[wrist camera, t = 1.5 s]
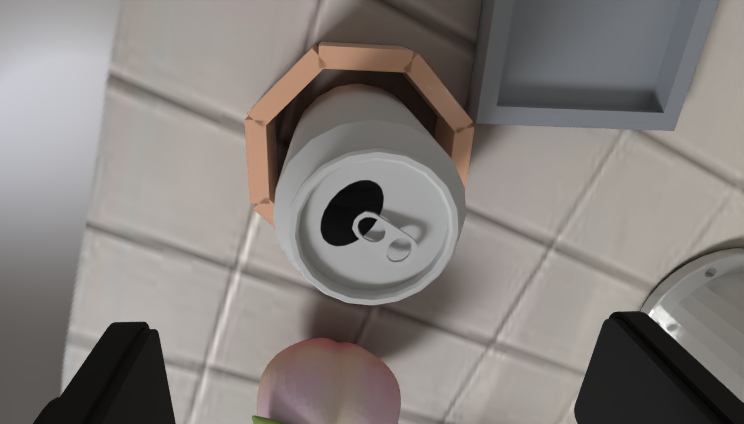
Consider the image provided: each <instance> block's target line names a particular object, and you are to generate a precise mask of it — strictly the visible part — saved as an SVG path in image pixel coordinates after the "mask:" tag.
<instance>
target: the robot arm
mask: <svg viewBox="0 0 744 424" xmlns="http://www.w3.org/2000/svg"><path fill="white" fill-rule="evenodd" d="M574 413H575V418H576V421H577V423H578V424H744V248H734V249H728V250H722V251H718V252H715V253H711V254H708V255H705V256H702V257H700V258H698V259H696V260H694V261H692V262H690V263H688V264H686V265H685V266H683V267H682V268H680V269H679V270H677V271H676V272H674V273H673V274H671V275H670V276H669V277H668V278H667V279H666V280H664V281H663V282H662V283H661V284H660V285H659V286H658V287H657V288H656V289H655V290H654V292H653V293H652V294H651V295H650V296H649V298H648V299H647V301H646V302H645V304H644V305H643V307H642V308H641V310H640V311H628V312H614V313H612V314H611V315H610V317H609V319H606V320H605V321H604V323H603V325H602V328H601V331H600V334H599V337H598V339H597V342H596V345H595V348H594V351H593V354H592V357H591V360H590V363H589V366H588V369H587V372H586V374H585V377H584V380H583V383H582V386H581V389H580V392H579V395H578V398H577V401H576V404H575V408H574ZM33 424H176V423H175V418H174V412H173V407H172V402H171V396H170V391H169V386H168V380H167V375H166V370H165V364H164V359H163V354H162V348H161V343H160V338H159V333H158V331H157V330H156V329H150V328H149V325H148V324H147V323H146V322H114V323H112V324H111V325H110V326H109V327H108V328H107V330H106V331H105V332H104V334H103V335H102V337H101V338H100V340H99V341H98V343H97V344H96V345H95V347H94V348H93V350H92V351H91V353H90V354H89V356H88V357H87V359H86V360H85V361H84V363H83V364H82V366H81V367H80V369H79V370H78V372H77V373H76V374H75V376H74V377H73V379H72V380H71V382H70V383H69V385H68V386H67V387H66V389H65V390H64V392H63V393H62V395H61V396H60V397H57V398H55V399H53V400H52V401H50V402H49V403H48V404H47V406H46V407H45V408H44V409H43V410H42V412H41V413H40V414H39V416H38V417H37V419H36V420H35V421H34V423H33Z"/></svg>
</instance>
